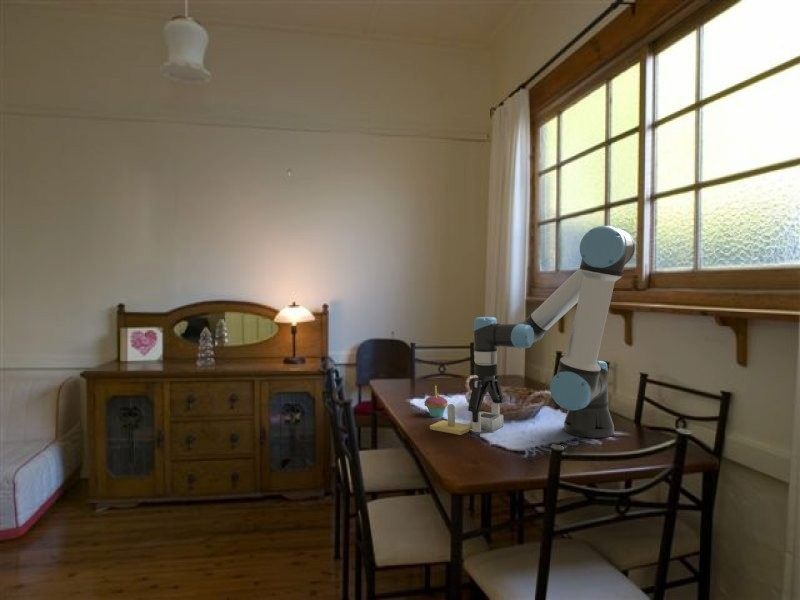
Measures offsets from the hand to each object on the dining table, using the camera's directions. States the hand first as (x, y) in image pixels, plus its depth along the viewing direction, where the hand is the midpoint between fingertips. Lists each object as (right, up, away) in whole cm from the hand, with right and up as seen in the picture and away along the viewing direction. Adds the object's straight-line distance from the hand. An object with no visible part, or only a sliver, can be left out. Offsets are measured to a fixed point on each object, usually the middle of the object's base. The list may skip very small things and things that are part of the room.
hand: (486, 426), depth 169 cm
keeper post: (-12, -1, -1) cm, 12 cm away
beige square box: (0, 0, 0) cm, 0 cm away
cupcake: (-16, 0, +17) cm, 23 cm away
